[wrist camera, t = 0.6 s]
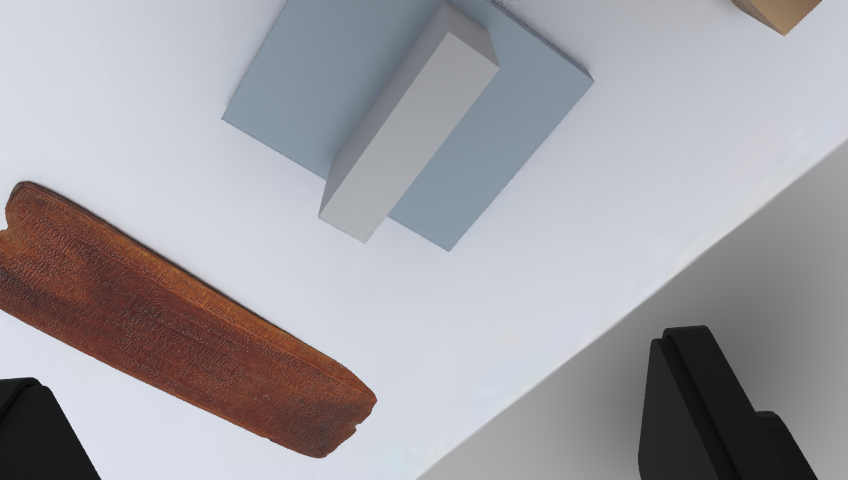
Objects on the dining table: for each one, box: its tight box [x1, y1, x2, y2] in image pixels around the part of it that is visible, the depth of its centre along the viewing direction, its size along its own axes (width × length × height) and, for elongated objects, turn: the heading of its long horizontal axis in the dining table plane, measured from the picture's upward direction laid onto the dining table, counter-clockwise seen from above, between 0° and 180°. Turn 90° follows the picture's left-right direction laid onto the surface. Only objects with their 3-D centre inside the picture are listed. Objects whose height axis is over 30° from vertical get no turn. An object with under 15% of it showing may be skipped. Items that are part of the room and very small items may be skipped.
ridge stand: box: [221, 0, 595, 252], centre depth 31 cm, size 12×14×7 cm
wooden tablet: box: [0, 182, 377, 458], centre depth 43 cm, size 27×10×2 cm, turn 49°
